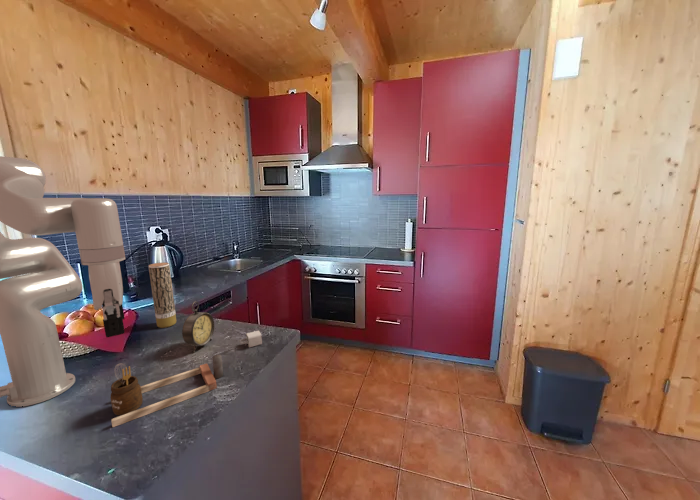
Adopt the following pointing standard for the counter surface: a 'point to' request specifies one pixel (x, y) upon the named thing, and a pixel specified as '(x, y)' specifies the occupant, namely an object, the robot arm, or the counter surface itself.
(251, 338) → the usb wall charger
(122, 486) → the counter surface
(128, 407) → the utensil holder
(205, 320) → the alarm clock
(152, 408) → the guide channel
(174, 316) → the paper tube
